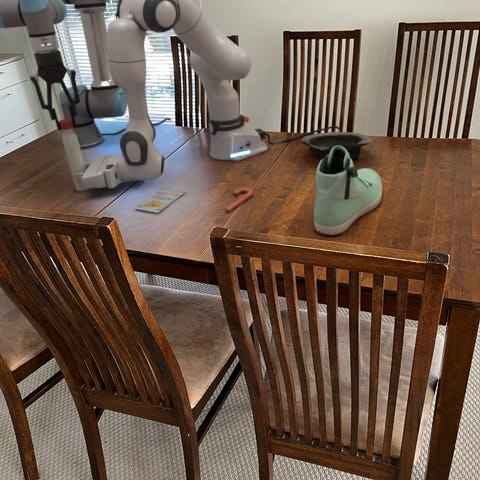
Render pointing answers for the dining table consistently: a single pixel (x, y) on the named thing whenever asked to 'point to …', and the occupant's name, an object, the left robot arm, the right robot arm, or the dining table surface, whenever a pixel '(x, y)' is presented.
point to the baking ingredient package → (159, 200)
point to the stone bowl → (336, 143)
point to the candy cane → (236, 192)
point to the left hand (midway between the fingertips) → (67, 127)
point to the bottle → (74, 156)
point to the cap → (66, 124)
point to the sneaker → (343, 192)
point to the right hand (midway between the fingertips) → (75, 171)
